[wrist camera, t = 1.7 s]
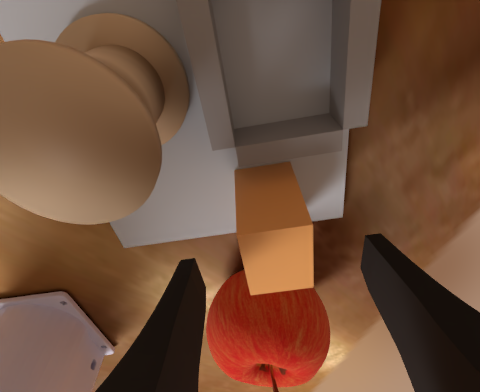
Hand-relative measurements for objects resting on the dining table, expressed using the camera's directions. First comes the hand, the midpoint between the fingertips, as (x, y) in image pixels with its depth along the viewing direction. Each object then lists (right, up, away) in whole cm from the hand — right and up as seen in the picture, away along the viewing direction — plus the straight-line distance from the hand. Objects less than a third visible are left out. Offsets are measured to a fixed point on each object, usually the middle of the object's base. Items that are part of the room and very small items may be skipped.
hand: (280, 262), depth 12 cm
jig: (-3, +7, +2) cm, 8 cm away
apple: (0, -4, +10) cm, 11 cm away
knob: (-7, +8, +1) cm, 11 cm away
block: (0, +3, +4) cm, 5 cm away
